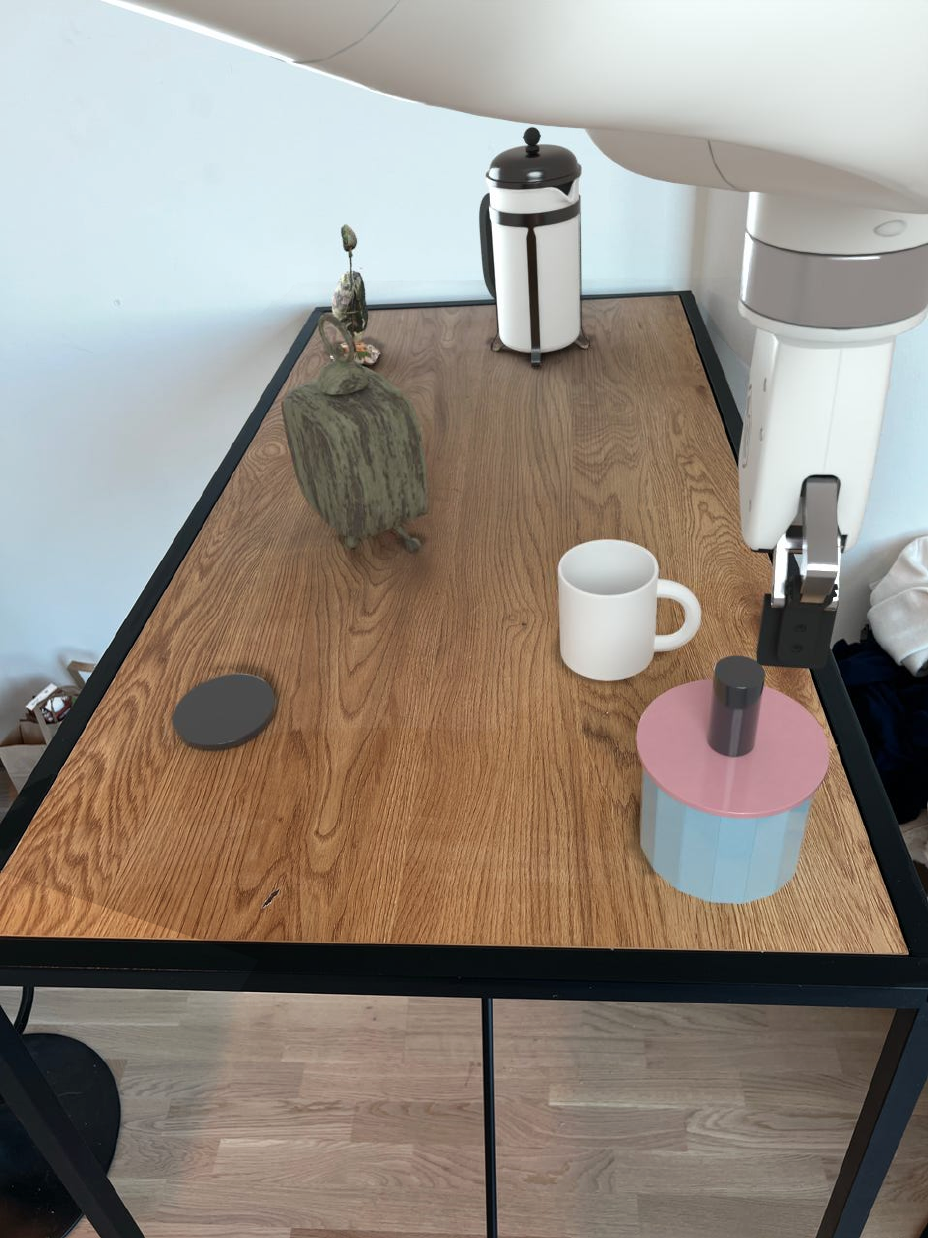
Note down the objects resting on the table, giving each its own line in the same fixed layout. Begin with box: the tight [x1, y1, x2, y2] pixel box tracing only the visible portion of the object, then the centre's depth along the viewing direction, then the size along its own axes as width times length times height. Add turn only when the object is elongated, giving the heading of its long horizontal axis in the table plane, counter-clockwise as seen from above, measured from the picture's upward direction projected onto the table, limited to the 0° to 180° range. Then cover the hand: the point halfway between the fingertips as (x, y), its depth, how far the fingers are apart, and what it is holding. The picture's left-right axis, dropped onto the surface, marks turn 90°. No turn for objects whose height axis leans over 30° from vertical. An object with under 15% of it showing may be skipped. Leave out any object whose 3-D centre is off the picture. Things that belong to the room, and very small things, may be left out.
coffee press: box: [478, 126, 591, 368], centre depth 132 cm, size 17×16×30 cm
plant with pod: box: [329, 223, 381, 366], centre depth 138 cm, size 8×11×20 cm
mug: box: [557, 538, 702, 682], centre depth 80 cm, size 12×8×10 cm
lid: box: [635, 654, 831, 819], centre depth 59 cm, size 12×12×7 cm
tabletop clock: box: [280, 313, 430, 554], centre depth 95 cm, size 14×9×25 cm, turn 33°
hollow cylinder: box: [639, 765, 816, 905], centre depth 64 cm, size 11×11×10 cm
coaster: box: [172, 673, 278, 752], centre depth 83 cm, size 9×9×1 cm
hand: (783, 603), depth 49 cm, fingers open, 9 cm apart
